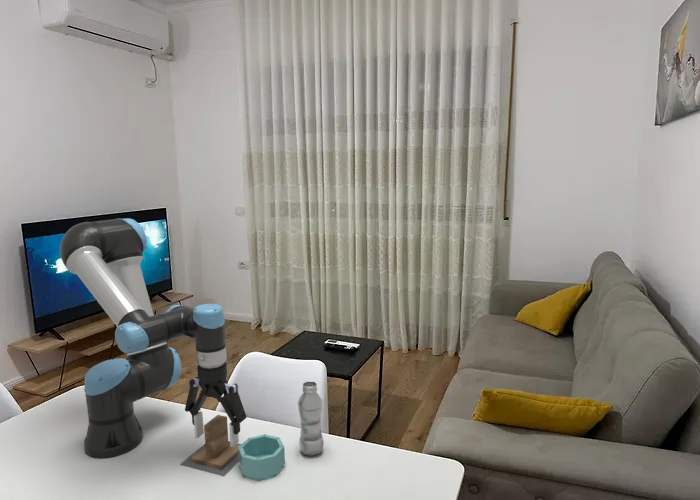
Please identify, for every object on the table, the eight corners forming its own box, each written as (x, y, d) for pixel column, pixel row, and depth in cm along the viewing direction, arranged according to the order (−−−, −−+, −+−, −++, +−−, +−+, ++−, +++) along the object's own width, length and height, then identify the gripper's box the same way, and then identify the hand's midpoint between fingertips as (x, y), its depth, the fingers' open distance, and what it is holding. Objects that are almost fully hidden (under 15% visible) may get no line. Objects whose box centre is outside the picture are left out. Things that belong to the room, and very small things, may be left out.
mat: (179, 465, 131) (179, 464, 131) (212, 438, 144) (212, 437, 144) (223, 477, 126) (223, 476, 126) (253, 448, 139) (253, 447, 139)
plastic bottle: (320, 460, 133) (318, 390, 130) (296, 457, 134) (294, 388, 131) (326, 446, 139) (325, 380, 136) (303, 444, 141) (301, 378, 137)
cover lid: (190, 461, 132) (188, 426, 131) (214, 442, 142) (211, 409, 140) (222, 470, 129) (219, 434, 127) (243, 449, 138) (241, 415, 136)
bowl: (232, 475, 127) (231, 453, 126) (255, 451, 137) (254, 432, 136) (269, 485, 123) (268, 463, 122) (290, 460, 133) (290, 439, 132)
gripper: (166, 362, 131) (173, 438, 135) (241, 375, 123) (245, 456, 127) (185, 352, 138) (191, 425, 142) (257, 363, 130) (261, 440, 134)
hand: (216, 439), depth 134 cm, fingers open, 11 cm apart
